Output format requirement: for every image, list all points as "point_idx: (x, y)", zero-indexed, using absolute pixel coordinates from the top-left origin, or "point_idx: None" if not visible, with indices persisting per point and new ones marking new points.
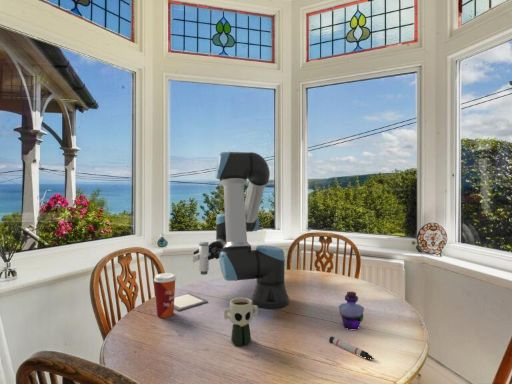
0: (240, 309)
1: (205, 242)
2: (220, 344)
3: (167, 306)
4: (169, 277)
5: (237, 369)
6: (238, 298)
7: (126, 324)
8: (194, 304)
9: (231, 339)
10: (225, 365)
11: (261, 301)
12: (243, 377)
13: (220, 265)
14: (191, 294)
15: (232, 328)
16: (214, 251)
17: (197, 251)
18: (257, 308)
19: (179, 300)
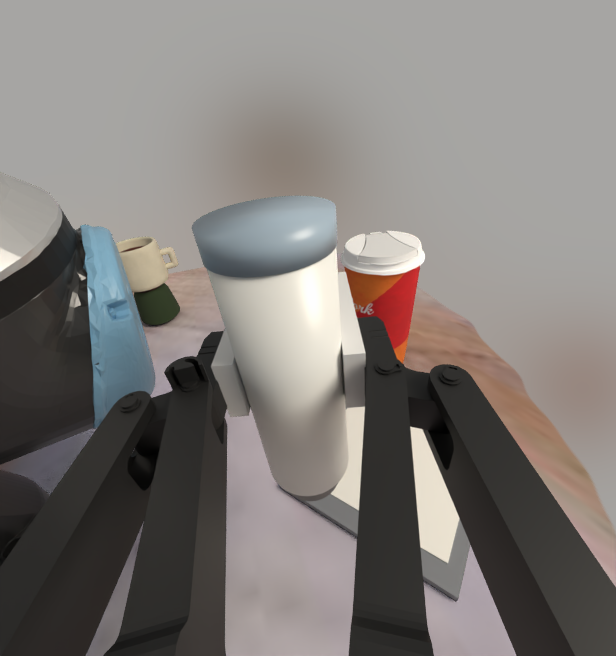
0: (139, 244)
1: (243, 223)
2: (201, 306)
3: None
4: (350, 239)
5: (176, 280)
6: (132, 251)
7: (426, 306)
8: None
9: (178, 305)
10: (191, 281)
11: (21, 476)
12: (170, 274)
13: (145, 350)
14: (422, 566)
15: (170, 294)
16: (156, 496)
17: (451, 420)
18: None
19: (414, 452)
